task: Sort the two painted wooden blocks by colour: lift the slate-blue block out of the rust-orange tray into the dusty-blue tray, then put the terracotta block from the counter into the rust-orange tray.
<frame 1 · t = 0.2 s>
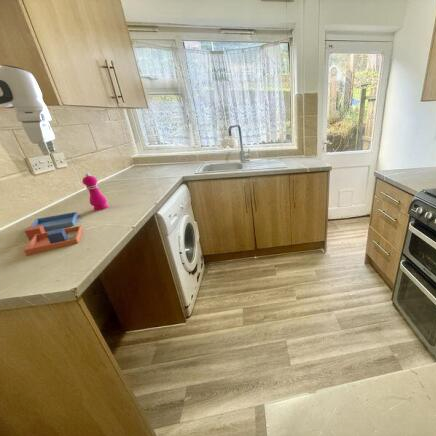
hand: (50, 153, 97), 34 cm above the countertop, tool pointing down, fingers open, 8 cm apart
pepper mill: (101, 209, 134), on the countertop
orange tray: (57, 242, 100), on the countertop
terracotta block: (38, 237, 104), on the countertop
blue tray: (56, 225, 115), on the countertop
blue block: (59, 241, 99), resting on orange tray
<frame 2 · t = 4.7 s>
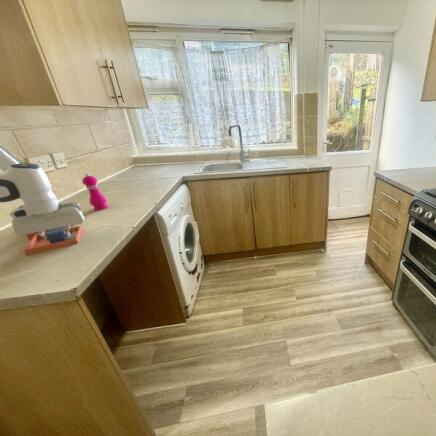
hand: (58, 238, 99), 2 cm above the countertop, tool pointing down, fingers closed on blue block, 4 cm apart
blue block: (59, 241, 99), point 1 cm above the countertop, touching gripper, orange tray
everything else where it was.
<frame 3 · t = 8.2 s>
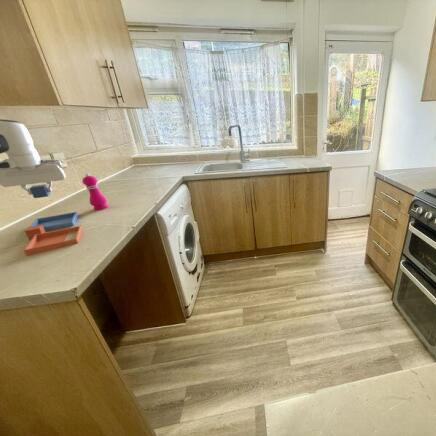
hand: (41, 193, 107), 17 cm above the countertop, tool pointing down, fingers closed on blue block, 4 cm apart
blue block: (42, 196, 107), point 15 cm above the countertop, touching gripper
everything else where it was.
when the fingers open (2 cm above the countertop, at t = 12.1 s): blue block stays where it is, resting on blue tray.
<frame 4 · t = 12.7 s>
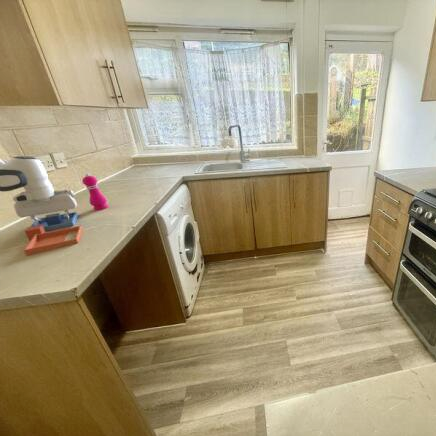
hand: (54, 221, 114), 2 cm above the countertop, tool pointing down, fingers open, 8 cm apart
blue block: (56, 224, 115), resting on blue tray
everything else where it was.
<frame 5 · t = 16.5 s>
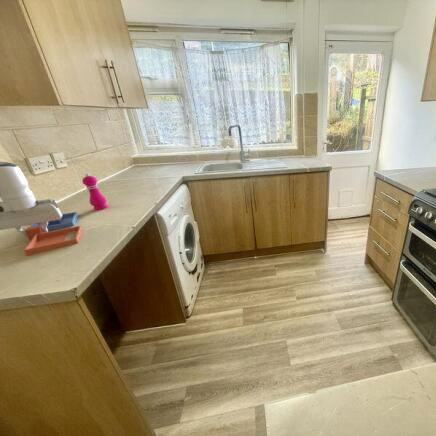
hand: (36, 233, 103), 2 cm above the countertop, tool pointing down, fingers closed on terracotta block, 4 cm apart
terracotta block: (38, 237, 104), on the countertop, touching gripper
everything else where it was.
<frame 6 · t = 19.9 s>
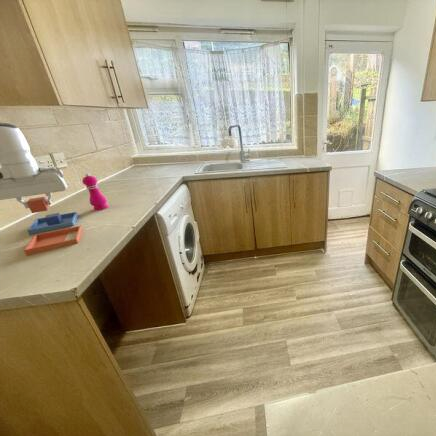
hand: (39, 206, 94), 16 cm above the countertop, tool pointing down, fingers closed on terracotta block, 4 cm apart
terracotta block: (41, 210, 95), point 14 cm above the countertop, touching gripper
everything else where it was.
when the fingers open (2 cm above the countertop, at t = 23.3 s): terracotta block stays where it is, resting on orange tray.
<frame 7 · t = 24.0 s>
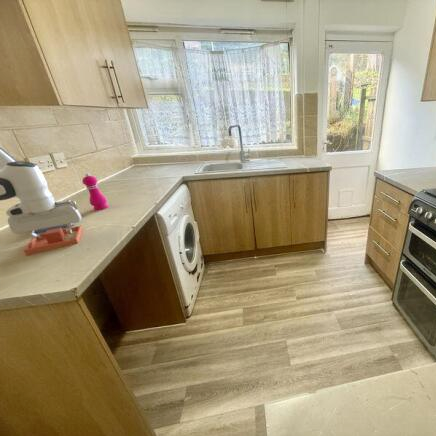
hand: (54, 236, 99), 3 cm above the countertop, tool pointing down, fingers open, 8 cm apart
terracotta block: (57, 240, 99), resting on orange tray
everything else where it was.
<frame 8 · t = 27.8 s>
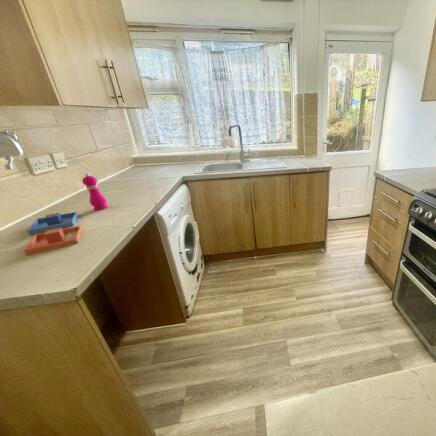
nothing on the countertop moved.
at the end: blue block inside the target area in the blue tray (0.1 cm from its centre), point 0.5 cm above the blue tray's base; terracotta block inside the target area in the orange tray (0.1 cm from its centre), point 0.5 cm above the orange tray's base; pepper mill moved 0.1 cm from its start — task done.
